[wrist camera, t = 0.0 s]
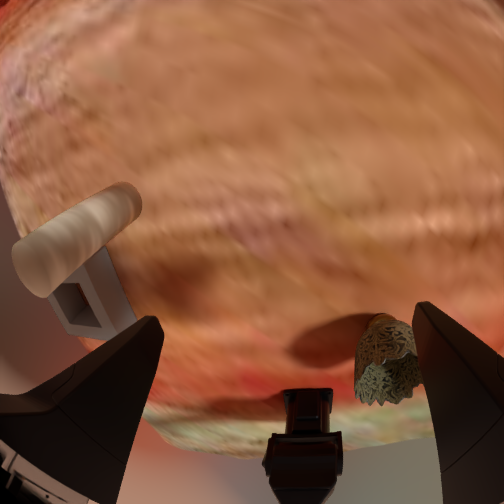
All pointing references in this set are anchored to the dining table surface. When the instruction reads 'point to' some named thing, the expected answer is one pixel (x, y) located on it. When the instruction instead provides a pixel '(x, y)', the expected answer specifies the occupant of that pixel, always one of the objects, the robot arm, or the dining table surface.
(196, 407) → the dining table surface
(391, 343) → the cup
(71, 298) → the socket block
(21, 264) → the peg
